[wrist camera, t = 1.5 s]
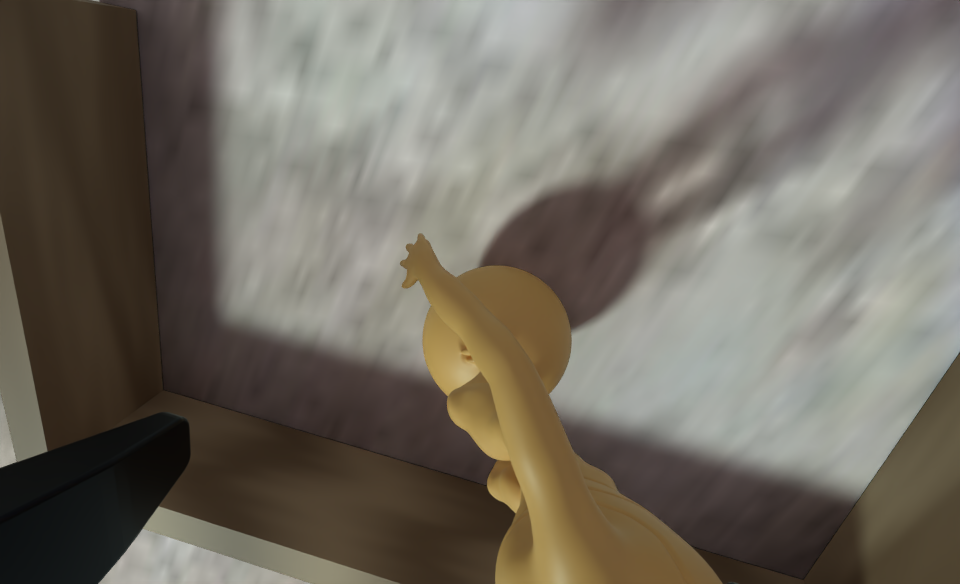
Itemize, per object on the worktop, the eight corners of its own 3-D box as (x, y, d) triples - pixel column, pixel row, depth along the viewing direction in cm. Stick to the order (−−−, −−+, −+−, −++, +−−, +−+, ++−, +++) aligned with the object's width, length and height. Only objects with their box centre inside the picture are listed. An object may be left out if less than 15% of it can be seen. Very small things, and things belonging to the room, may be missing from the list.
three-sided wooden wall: (1108, 228, 12) (1384, 305, 8) (822, 613, 18) (895, 773, 14) (96, 1, 14) (-98, -32, 10) (137, 406, 20) (23, 489, 16)
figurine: (390, 208, 15) (-121, 546, 4) (586, 122, 13) (613, 324, 2) (500, 432, 17) (362, 1028, 6) (680, 386, 15) (919, 1119, 5)
